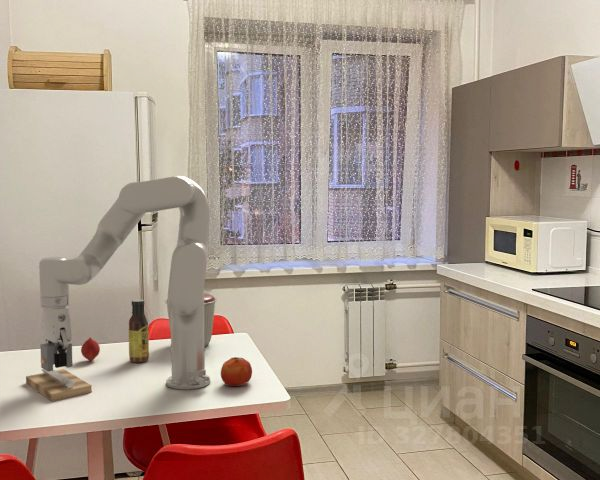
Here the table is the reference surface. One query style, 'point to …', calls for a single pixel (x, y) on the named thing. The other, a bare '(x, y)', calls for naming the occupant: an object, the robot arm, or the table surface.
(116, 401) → the table surface
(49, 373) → the rail
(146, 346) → the sauce bottle
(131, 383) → the table surface
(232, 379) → the tomato
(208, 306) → the canister
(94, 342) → the red oval fruit
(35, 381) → the mounting board
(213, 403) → the table surface
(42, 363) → the block
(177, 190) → the robot arm
